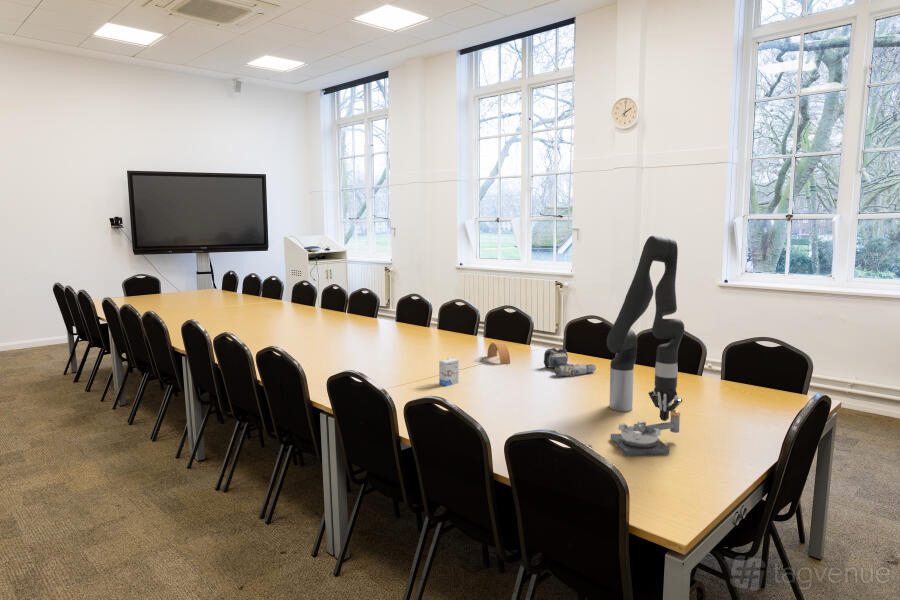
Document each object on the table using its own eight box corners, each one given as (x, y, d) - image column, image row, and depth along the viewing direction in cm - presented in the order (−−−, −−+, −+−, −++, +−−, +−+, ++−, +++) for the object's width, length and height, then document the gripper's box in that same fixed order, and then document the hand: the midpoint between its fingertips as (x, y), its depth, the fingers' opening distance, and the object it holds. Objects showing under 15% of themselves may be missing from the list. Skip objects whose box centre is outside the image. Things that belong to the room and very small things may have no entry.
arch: (500, 364, 315) (500, 346, 313) (487, 356, 334) (487, 339, 332) (510, 364, 316) (510, 346, 315) (496, 355, 335) (496, 338, 334)
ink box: (445, 386, 276) (445, 362, 274) (439, 384, 279) (438, 360, 278) (459, 383, 281) (458, 359, 280) (452, 380, 285) (452, 357, 283)
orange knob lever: (666, 428, 212) (667, 405, 210) (690, 440, 200) (691, 416, 199) (614, 436, 204) (614, 413, 203) (635, 449, 193) (636, 425, 192)
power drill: (536, 368, 307) (537, 348, 305) (573, 364, 315) (573, 344, 314) (560, 379, 286) (560, 357, 285) (598, 374, 295) (598, 353, 293)
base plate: (610, 439, 208) (610, 433, 208) (651, 437, 209) (651, 432, 209) (625, 456, 193) (625, 450, 193) (669, 454, 194) (669, 448, 194)
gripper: (643, 371, 210) (642, 417, 212) (676, 380, 199) (674, 428, 202) (656, 368, 214) (654, 412, 217) (689, 376, 203) (686, 423, 206)
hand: (664, 420), depth 209 cm, fingers closed
